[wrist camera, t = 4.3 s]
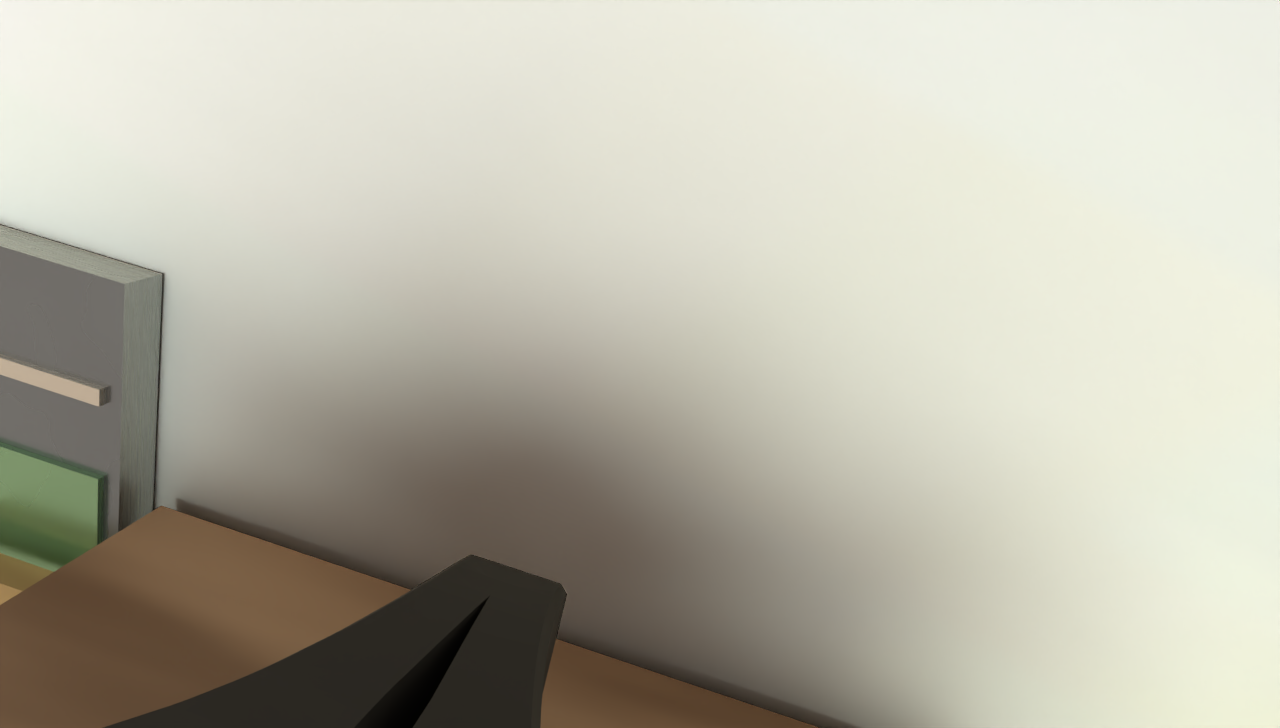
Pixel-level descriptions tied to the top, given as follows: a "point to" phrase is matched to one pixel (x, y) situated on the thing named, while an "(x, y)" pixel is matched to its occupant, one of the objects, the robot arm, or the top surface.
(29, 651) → the brown wooden block
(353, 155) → the top surface
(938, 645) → the top surface
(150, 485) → the gauge frame
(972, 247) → the top surface
